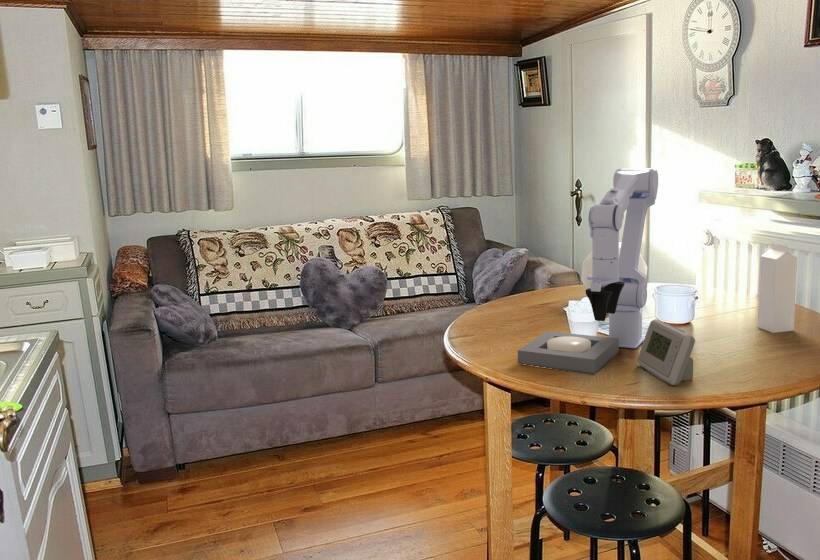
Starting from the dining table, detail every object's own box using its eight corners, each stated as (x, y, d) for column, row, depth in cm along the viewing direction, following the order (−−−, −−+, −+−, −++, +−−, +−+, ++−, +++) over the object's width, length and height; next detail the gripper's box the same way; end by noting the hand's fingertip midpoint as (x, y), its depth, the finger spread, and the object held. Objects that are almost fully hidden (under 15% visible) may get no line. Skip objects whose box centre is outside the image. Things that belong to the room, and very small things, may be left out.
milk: (772, 333, 182) (776, 246, 178) (756, 327, 188) (760, 243, 183) (794, 330, 183) (798, 244, 179) (777, 325, 189) (781, 241, 185)
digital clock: (635, 364, 163) (635, 318, 161) (675, 362, 163) (676, 317, 161) (655, 388, 147) (656, 338, 145) (700, 387, 147) (702, 336, 145)
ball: (630, 326, 220) (657, 282, 206) (567, 304, 222) (590, 258, 207) (634, 285, 233) (661, 241, 219) (575, 265, 235) (597, 219, 221)
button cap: (556, 347, 176) (556, 334, 176) (596, 352, 171) (596, 338, 170) (540, 358, 168) (540, 345, 167) (582, 363, 163) (582, 350, 162)
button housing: (547, 344, 182) (546, 331, 181) (618, 352, 172) (618, 338, 172) (517, 364, 167) (517, 350, 166) (594, 374, 157) (594, 359, 157)
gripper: (598, 252, 170) (597, 308, 173) (577, 262, 158) (577, 322, 161) (628, 253, 167) (627, 311, 169) (609, 263, 155) (608, 325, 157)
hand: (605, 316), depth 165 cm, fingers open, 7 cm apart
